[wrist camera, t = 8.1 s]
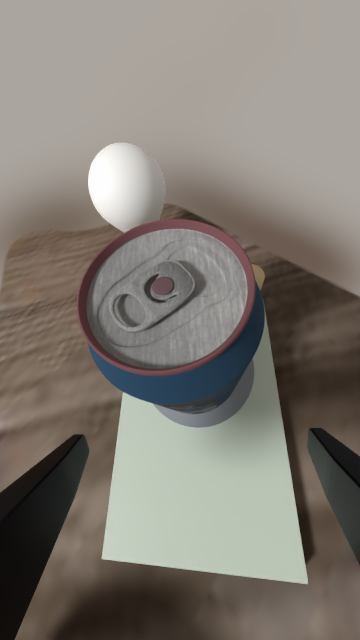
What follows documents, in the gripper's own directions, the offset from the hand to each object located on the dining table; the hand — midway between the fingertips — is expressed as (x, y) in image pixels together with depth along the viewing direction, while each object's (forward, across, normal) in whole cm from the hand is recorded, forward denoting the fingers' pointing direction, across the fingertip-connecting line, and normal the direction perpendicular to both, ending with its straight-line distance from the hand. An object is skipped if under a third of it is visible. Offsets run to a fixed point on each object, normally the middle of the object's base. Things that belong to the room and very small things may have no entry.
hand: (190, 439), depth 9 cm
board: (+8, 0, +5) cm, 9 cm away
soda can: (+9, 0, +2) cm, 9 cm away
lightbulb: (+19, +4, -6) cm, 21 cm away
